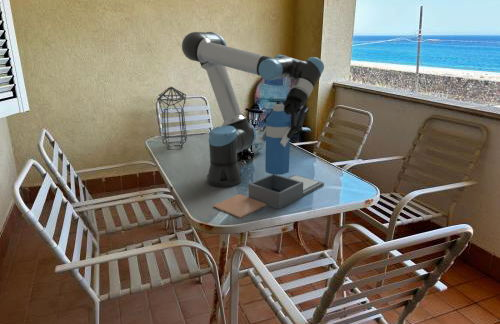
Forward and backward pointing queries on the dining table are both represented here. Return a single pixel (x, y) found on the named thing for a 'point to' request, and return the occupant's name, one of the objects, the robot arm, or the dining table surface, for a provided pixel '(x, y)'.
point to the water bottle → (277, 141)
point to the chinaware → (257, 145)
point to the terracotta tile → (240, 205)
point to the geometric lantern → (177, 112)
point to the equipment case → (281, 189)
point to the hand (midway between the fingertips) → (272, 142)
